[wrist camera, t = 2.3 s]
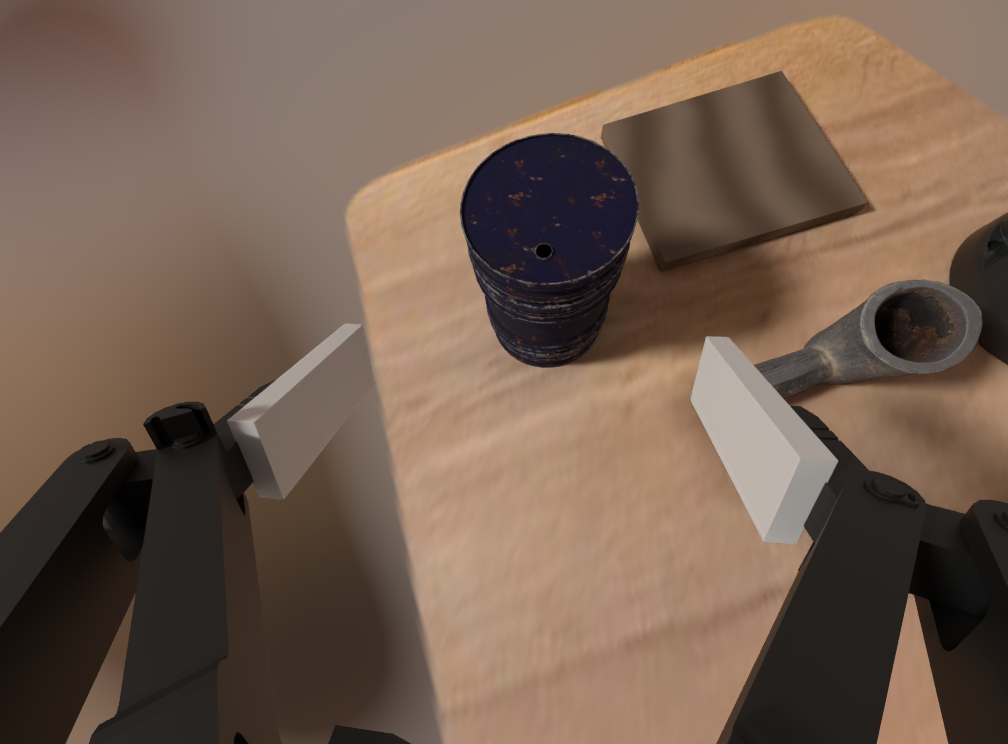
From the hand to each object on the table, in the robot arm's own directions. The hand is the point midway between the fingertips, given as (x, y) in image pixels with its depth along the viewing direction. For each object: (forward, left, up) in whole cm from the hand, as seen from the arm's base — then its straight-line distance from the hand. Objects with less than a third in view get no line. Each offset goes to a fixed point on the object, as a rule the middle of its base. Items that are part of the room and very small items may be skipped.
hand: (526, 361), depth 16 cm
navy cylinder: (-4, -9, -19) cm, 21 cm away
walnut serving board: (-24, -18, -18) cm, 35 cm away
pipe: (-22, +2, -19) cm, 29 cm away
